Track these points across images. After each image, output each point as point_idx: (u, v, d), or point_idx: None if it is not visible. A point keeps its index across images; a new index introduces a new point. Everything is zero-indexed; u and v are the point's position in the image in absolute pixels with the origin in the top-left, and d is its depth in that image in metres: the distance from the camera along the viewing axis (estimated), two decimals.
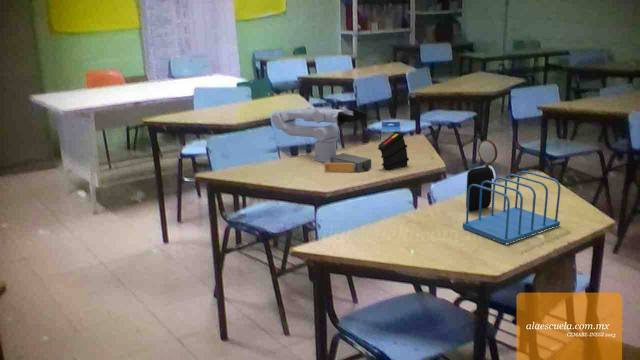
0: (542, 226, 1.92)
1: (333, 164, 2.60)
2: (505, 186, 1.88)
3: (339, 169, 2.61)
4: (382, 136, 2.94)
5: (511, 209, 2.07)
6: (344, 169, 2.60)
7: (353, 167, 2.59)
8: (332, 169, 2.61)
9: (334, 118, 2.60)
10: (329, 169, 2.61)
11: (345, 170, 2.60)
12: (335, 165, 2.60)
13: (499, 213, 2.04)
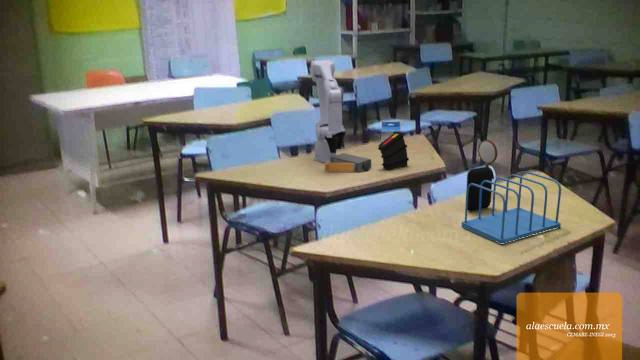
0: (541, 227, 1.91)
1: (333, 164, 2.60)
2: (503, 186, 1.88)
3: (339, 169, 2.61)
4: (382, 136, 2.94)
5: (513, 209, 2.06)
6: (344, 169, 2.60)
7: (353, 167, 2.59)
8: (332, 169, 2.61)
9: (329, 136, 2.52)
10: (329, 169, 2.61)
11: (345, 170, 2.60)
12: (335, 165, 2.60)
13: (500, 213, 2.03)
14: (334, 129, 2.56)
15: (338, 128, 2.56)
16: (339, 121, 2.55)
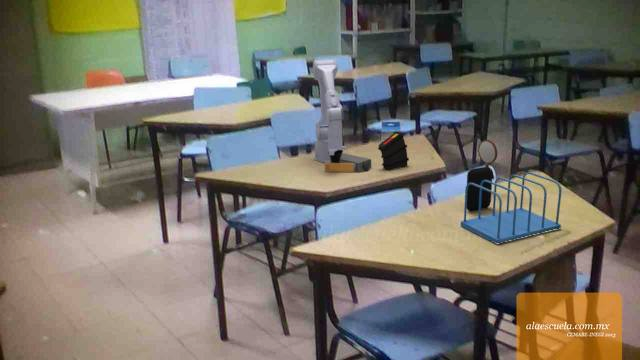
0: (540, 228, 1.91)
1: (333, 164, 2.60)
2: (501, 186, 1.88)
3: (339, 169, 2.60)
4: (382, 136, 2.94)
5: (515, 210, 2.06)
6: (344, 169, 2.60)
7: (353, 167, 2.59)
8: (332, 169, 2.61)
9: (332, 154, 2.53)
10: (329, 169, 2.61)
11: (345, 170, 2.60)
12: (335, 165, 2.60)
13: (501, 213, 2.03)
14: (335, 146, 2.57)
15: (339, 145, 2.57)
16: (340, 138, 2.57)
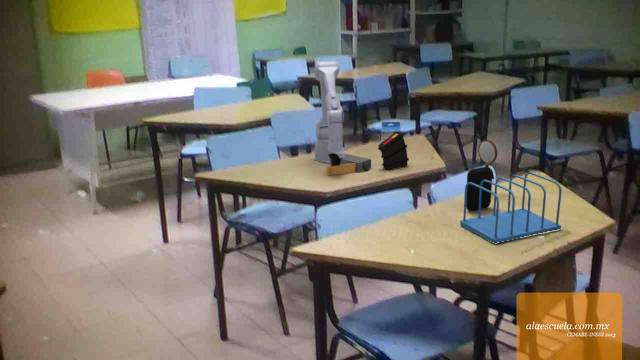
0: (539, 229, 1.90)
1: (335, 167, 2.56)
2: (500, 186, 1.88)
3: (341, 171, 2.58)
4: (382, 136, 2.94)
5: (517, 210, 2.06)
6: (345, 170, 2.58)
7: (354, 167, 2.59)
8: (334, 172, 2.57)
9: (343, 156, 2.49)
10: (331, 173, 2.56)
11: (347, 171, 2.58)
12: (337, 168, 2.57)
13: (502, 213, 2.03)
14: (339, 149, 2.53)
15: (342, 147, 2.54)
16: (342, 140, 2.54)
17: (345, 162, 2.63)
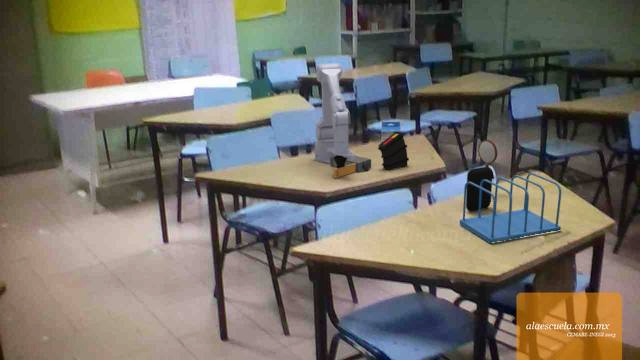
0: (538, 229, 1.90)
1: (341, 169, 2.53)
2: (498, 186, 1.88)
3: (345, 172, 2.56)
4: (382, 136, 2.94)
5: (518, 211, 2.05)
6: (348, 171, 2.57)
7: (355, 167, 2.59)
8: (340, 174, 2.54)
9: (354, 158, 2.48)
10: None
11: (349, 172, 2.57)
12: (342, 170, 2.54)
13: (503, 213, 2.03)
14: (347, 151, 2.50)
15: None
16: None
17: (345, 162, 2.63)
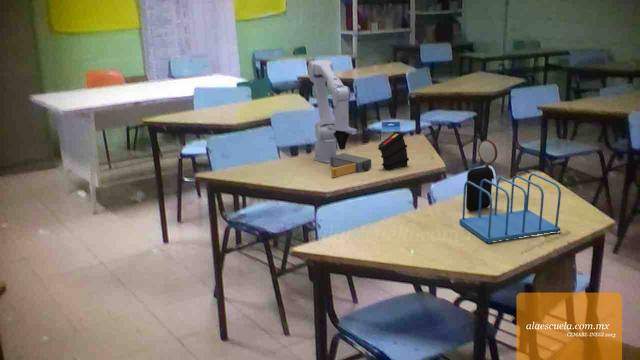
0: (537, 230, 1.89)
1: (339, 168, 2.54)
2: (497, 186, 1.88)
3: (344, 172, 2.56)
4: (382, 136, 2.94)
5: (520, 211, 2.05)
6: (347, 171, 2.57)
7: (355, 167, 2.59)
8: (338, 173, 2.55)
9: (355, 132, 2.54)
10: (336, 174, 2.54)
11: (348, 172, 2.58)
12: (340, 169, 2.55)
13: (504, 214, 2.03)
14: (347, 126, 2.57)
15: (348, 124, 2.58)
16: None
17: (345, 162, 2.63)
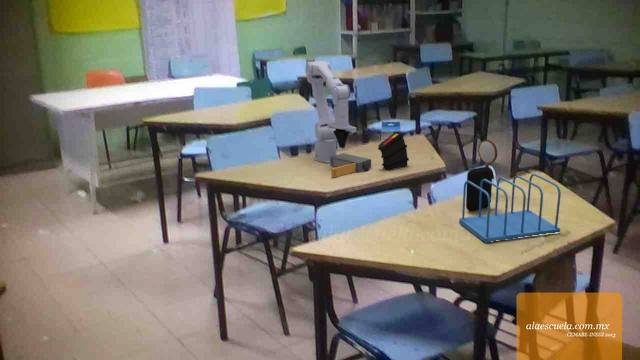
0: (536, 230, 1.89)
1: (339, 168, 2.54)
2: (496, 186, 1.88)
3: (344, 172, 2.56)
4: (382, 136, 2.94)
5: (521, 211, 2.04)
6: (347, 171, 2.57)
7: (355, 167, 2.59)
8: (338, 173, 2.55)
9: (355, 130, 2.56)
10: (336, 174, 2.54)
11: (348, 172, 2.58)
12: (340, 169, 2.55)
13: (505, 214, 2.03)
14: (347, 124, 2.59)
15: None
16: None
17: (345, 162, 2.63)
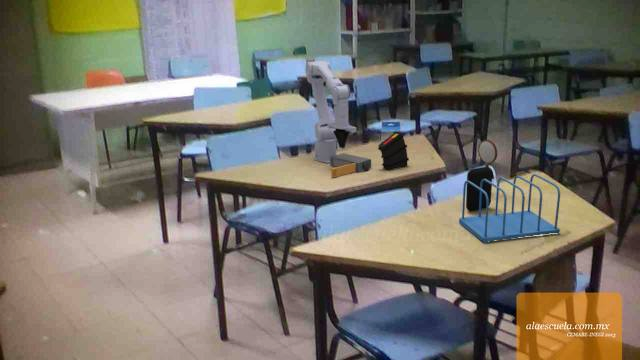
0: (535, 231, 1.89)
1: (339, 168, 2.54)
2: (495, 185, 1.88)
3: (344, 172, 2.56)
4: (382, 136, 2.94)
5: None
6: (347, 171, 2.57)
7: (355, 167, 2.59)
8: (338, 173, 2.55)
9: (355, 130, 2.56)
10: (336, 174, 2.54)
11: (348, 172, 2.58)
12: (340, 169, 2.55)
13: (505, 214, 2.03)
14: (347, 124, 2.59)
15: None
16: None
17: (345, 162, 2.63)
